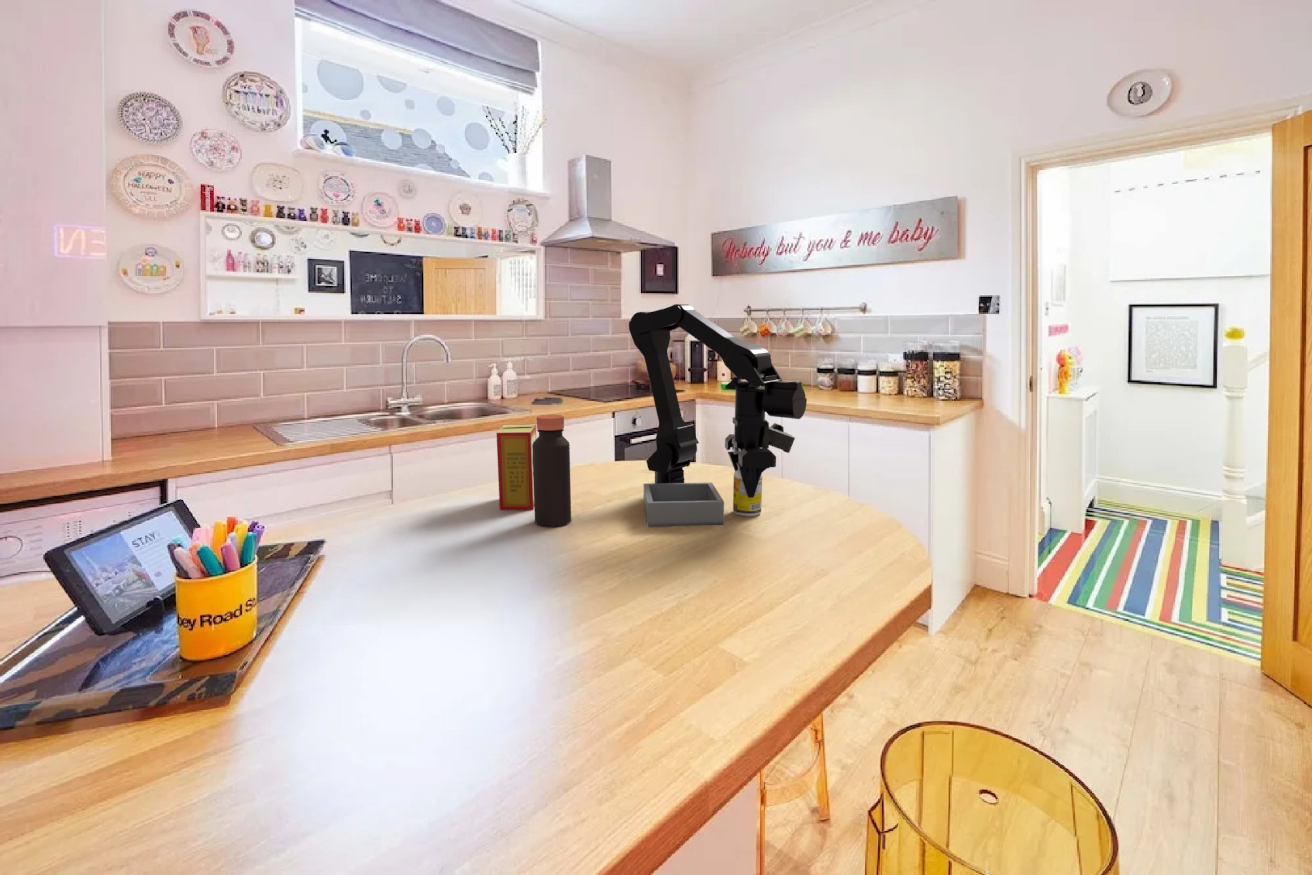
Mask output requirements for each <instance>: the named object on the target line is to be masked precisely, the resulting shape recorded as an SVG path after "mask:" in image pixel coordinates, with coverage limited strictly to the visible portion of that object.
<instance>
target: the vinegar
mask: <svg viewBox="0 0 1312 875" xmlns="http://www.w3.org/2000/svg"><path fill="white" fill-rule="evenodd" d="M564 428H565V416H564V415H563V414H562V415H561V414H542V415H537V416H536V432H538V436H537V437H536V440H535V441H534V442H533V445H532V452H533V481H534V509H533V512H534V523H535V524H536V525H537V526H540V527H545V528H557V527H563V526H566V525H568V524H570V523H571V521H572V502H571V501H572V497H571V496H572V495H571V494H572V493H571V492H572V491H571V490H572V489H571V488H572V487H571V455H570V454H571V451H570V450H571V448H570V442H569V440H568V439H566V438H565V436H563V432H564V431H565V429H564Z"/></svg>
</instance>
